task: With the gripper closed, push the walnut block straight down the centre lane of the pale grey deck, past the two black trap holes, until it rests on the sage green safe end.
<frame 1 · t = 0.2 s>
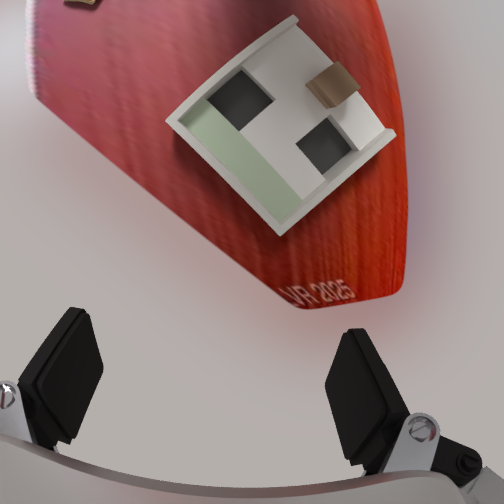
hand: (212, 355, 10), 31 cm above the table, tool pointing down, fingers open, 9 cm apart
walnut block: (327, 87, 30), point 3 cm above the table, touching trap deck
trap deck: (282, 122, 35), on the table
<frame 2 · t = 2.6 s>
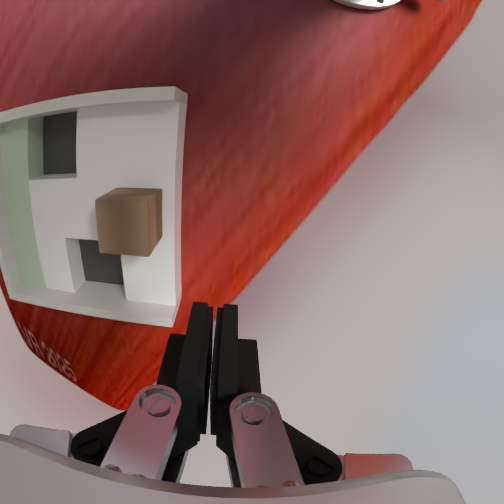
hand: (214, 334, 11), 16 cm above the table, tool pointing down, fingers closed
walnut block: (139, 211, 22), point 3 cm above the table, touching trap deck
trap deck: (84, 200, 25), on the table
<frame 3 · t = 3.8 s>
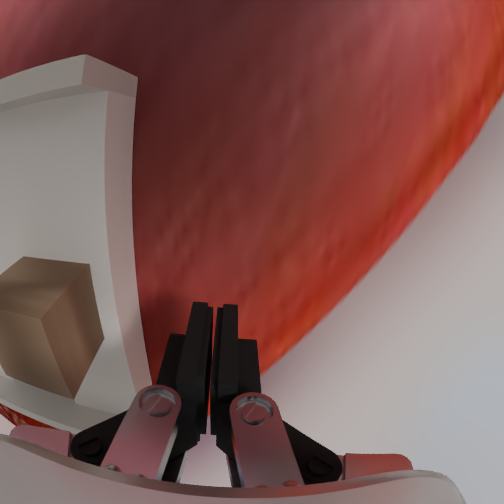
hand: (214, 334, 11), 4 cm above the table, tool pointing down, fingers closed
walnut block: (61, 298, 11), point 3 cm above the table, touching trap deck
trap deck: (5, 259, 14), on the table
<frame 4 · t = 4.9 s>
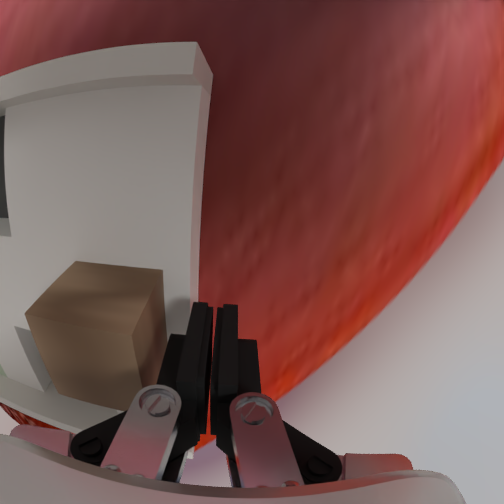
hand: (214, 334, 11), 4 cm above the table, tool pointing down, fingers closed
walnut block: (121, 306, 12), point 3 cm above the table, touching gripper
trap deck: (38, 261, 14), on the table
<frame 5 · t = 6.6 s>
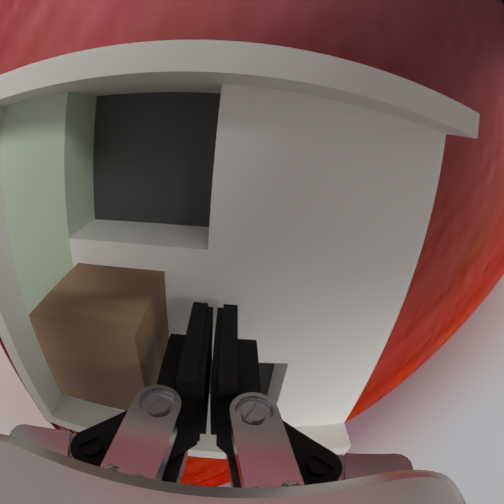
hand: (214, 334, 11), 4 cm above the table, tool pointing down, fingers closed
walnut block: (124, 307, 12), point 3 cm above the table, touching gripper, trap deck
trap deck: (191, 275, 15), on the table
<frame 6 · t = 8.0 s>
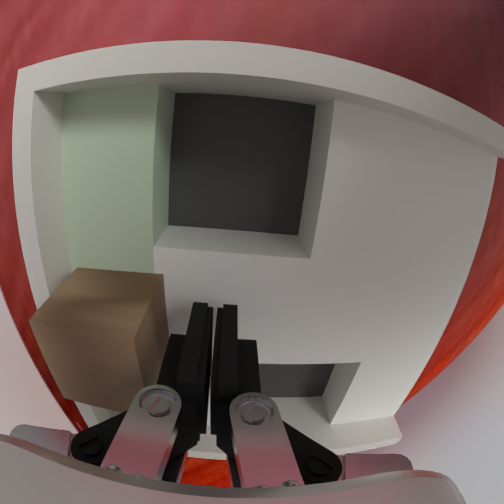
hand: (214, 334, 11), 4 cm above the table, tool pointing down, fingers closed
walnut block: (124, 311, 12), point 3 cm above the table, touching gripper, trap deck
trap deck: (268, 282, 15), on the table
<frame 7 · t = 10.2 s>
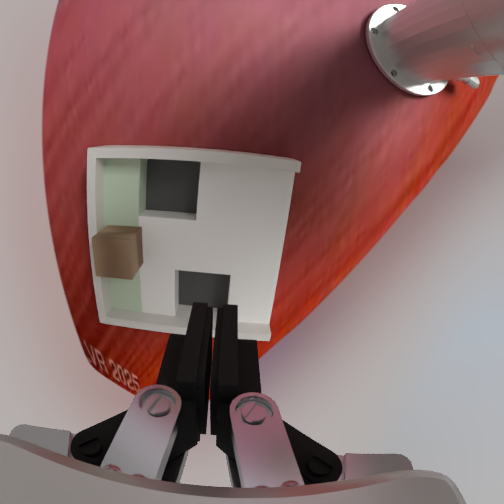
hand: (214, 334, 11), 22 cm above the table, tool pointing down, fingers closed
walnut block: (125, 243, 29), point 3 cm above the table, touching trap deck
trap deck: (189, 236, 32), on the table
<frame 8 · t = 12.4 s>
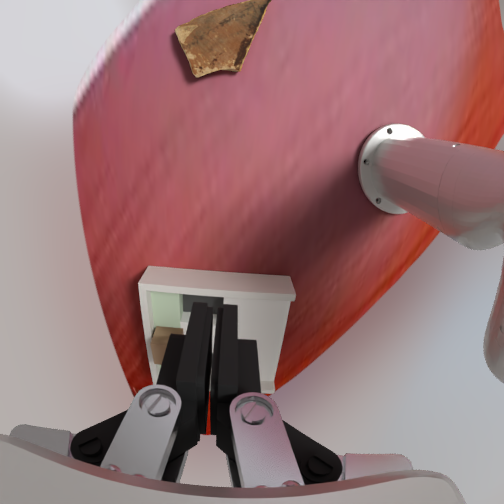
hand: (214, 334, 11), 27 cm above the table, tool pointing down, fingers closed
shard: (217, 31, 28), on the table
walnut block: (170, 337, 41), point 3 cm above the table, touching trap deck
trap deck: (215, 327, 44), on the table
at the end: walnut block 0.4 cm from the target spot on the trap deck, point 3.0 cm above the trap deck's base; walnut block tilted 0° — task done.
